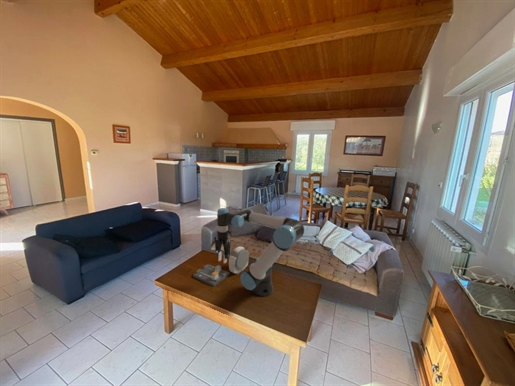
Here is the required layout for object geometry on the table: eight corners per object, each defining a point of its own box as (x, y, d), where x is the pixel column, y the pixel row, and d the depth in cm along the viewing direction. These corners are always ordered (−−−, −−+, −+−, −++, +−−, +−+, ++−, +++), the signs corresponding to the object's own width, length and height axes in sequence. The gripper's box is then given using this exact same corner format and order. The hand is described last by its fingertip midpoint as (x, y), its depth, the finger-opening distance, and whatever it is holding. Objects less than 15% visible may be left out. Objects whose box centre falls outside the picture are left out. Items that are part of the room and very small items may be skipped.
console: (229, 274, 171) (229, 270, 171) (214, 286, 156) (214, 282, 156) (209, 266, 182) (209, 262, 181) (193, 276, 167) (193, 272, 166)
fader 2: (221, 271, 171) (221, 266, 170) (217, 273, 168) (217, 268, 167) (218, 270, 173) (218, 264, 172) (214, 272, 170) (214, 267, 169)
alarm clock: (241, 264, 187) (242, 242, 183) (249, 267, 183) (250, 245, 178) (227, 273, 173) (227, 250, 169) (235, 277, 168) (236, 253, 164)
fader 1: (218, 277, 163) (218, 272, 162) (214, 280, 159) (214, 274, 158) (215, 276, 164) (215, 271, 163) (211, 279, 161) (211, 273, 160)
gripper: (236, 231, 149) (235, 262, 154) (216, 226, 158) (216, 255, 162) (229, 235, 143) (228, 267, 148) (209, 229, 151) (209, 260, 156)
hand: (222, 261), depth 155 cm, fingers open, 4 cm apart
